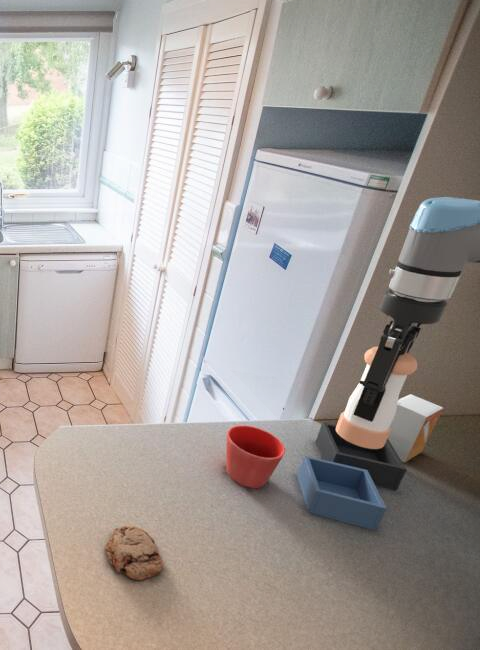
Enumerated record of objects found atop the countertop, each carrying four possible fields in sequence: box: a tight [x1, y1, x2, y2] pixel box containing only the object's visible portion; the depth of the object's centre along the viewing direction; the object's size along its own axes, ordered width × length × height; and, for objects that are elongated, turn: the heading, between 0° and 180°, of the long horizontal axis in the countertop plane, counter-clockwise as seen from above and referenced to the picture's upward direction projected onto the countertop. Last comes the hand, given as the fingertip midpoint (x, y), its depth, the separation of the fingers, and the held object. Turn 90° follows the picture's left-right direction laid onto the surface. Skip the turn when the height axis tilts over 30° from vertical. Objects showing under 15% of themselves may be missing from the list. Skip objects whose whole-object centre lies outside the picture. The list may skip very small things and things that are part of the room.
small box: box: [388, 393, 444, 464], centre depth 106 cm, size 8×6×13 cm
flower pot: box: [225, 424, 286, 489], centre depth 99 cm, size 11×11×10 cm
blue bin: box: [296, 455, 387, 532], centre depth 93 cm, size 11×11×6 cm
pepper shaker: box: [336, 346, 418, 449], centre depth 82 cm, size 7×7×19 cm
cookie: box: [104, 525, 164, 581], centre depth 82 cm, size 10×11×3 cm
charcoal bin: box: [315, 421, 407, 491], centre depth 103 cm, size 12×12×6 cm
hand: (369, 410), depth 84 cm, fingers closed on pepper shaker, 7 cm apart
